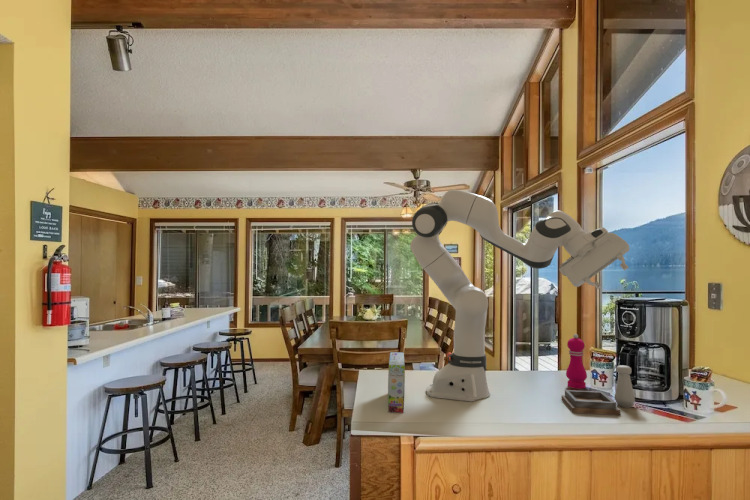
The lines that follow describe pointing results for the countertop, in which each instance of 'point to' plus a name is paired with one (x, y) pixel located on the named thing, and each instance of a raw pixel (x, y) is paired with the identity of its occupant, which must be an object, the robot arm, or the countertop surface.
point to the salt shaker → (624, 387)
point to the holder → (590, 402)
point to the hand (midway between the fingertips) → (612, 278)
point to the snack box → (396, 382)
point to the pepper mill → (576, 364)
